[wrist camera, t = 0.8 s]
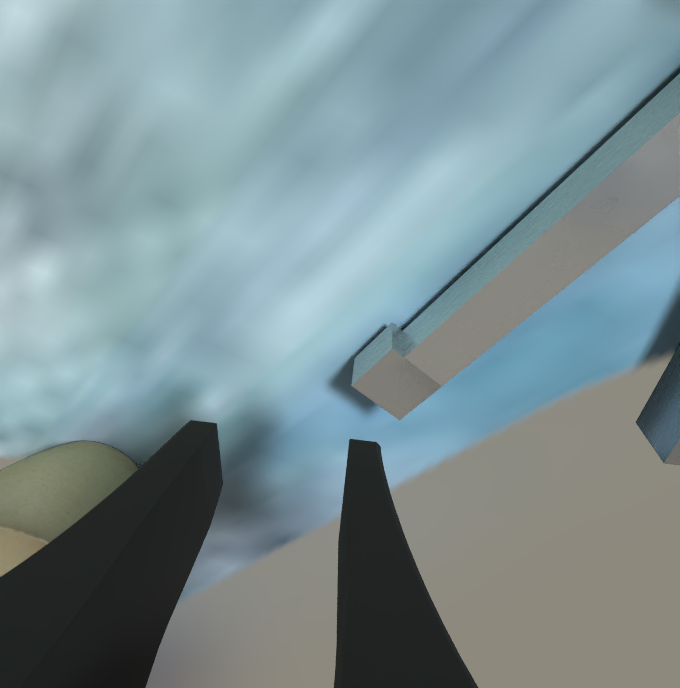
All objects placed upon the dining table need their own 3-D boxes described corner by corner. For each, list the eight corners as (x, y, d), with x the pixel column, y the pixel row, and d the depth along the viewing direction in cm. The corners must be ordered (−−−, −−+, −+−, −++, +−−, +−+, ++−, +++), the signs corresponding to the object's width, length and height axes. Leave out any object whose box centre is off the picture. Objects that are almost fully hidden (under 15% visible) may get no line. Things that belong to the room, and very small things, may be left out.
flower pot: (113, 543, 30) (43, 665, 24) (-19, 447, 26) (-143, 564, 20) (222, 495, 26) (172, 625, 20) (87, 375, 22) (-25, 492, 16)
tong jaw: (733, -5, 12) (788, -15, 10) (781, 67, 13) (840, 67, 11) (354, 358, 20) (351, 386, 18) (398, 390, 20) (399, 420, 19)
